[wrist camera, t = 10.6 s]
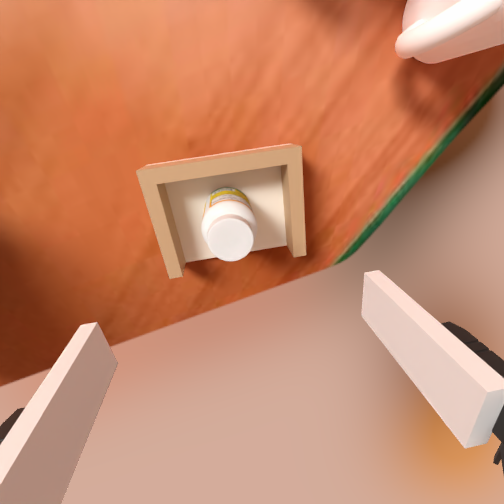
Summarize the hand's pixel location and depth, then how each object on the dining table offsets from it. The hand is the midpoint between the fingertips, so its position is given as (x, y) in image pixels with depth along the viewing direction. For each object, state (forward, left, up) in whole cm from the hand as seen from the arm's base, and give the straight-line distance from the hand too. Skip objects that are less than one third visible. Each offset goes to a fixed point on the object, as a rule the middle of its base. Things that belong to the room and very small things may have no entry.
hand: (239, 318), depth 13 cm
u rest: (0, 0, -21) cm, 21 cm away
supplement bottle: (0, 0, -20) cm, 20 cm away
